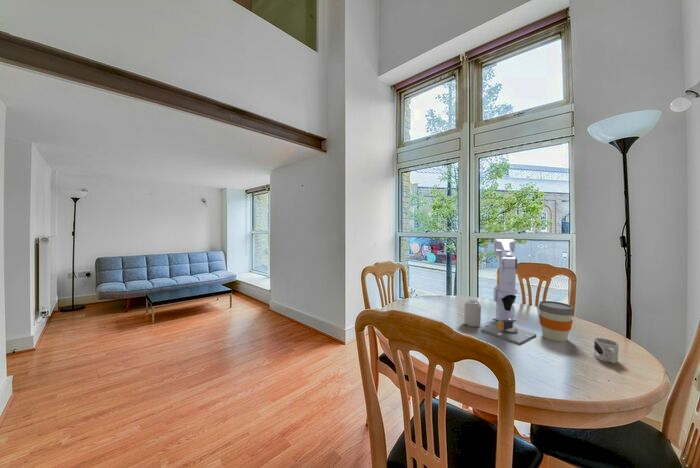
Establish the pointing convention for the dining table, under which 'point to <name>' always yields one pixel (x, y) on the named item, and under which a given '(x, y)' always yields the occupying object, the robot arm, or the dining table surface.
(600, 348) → the mug
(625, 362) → the dining table surface
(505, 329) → the black orange block
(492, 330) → the panel
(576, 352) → the dining table surface
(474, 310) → the white bottle
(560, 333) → the reusable coffee cup
